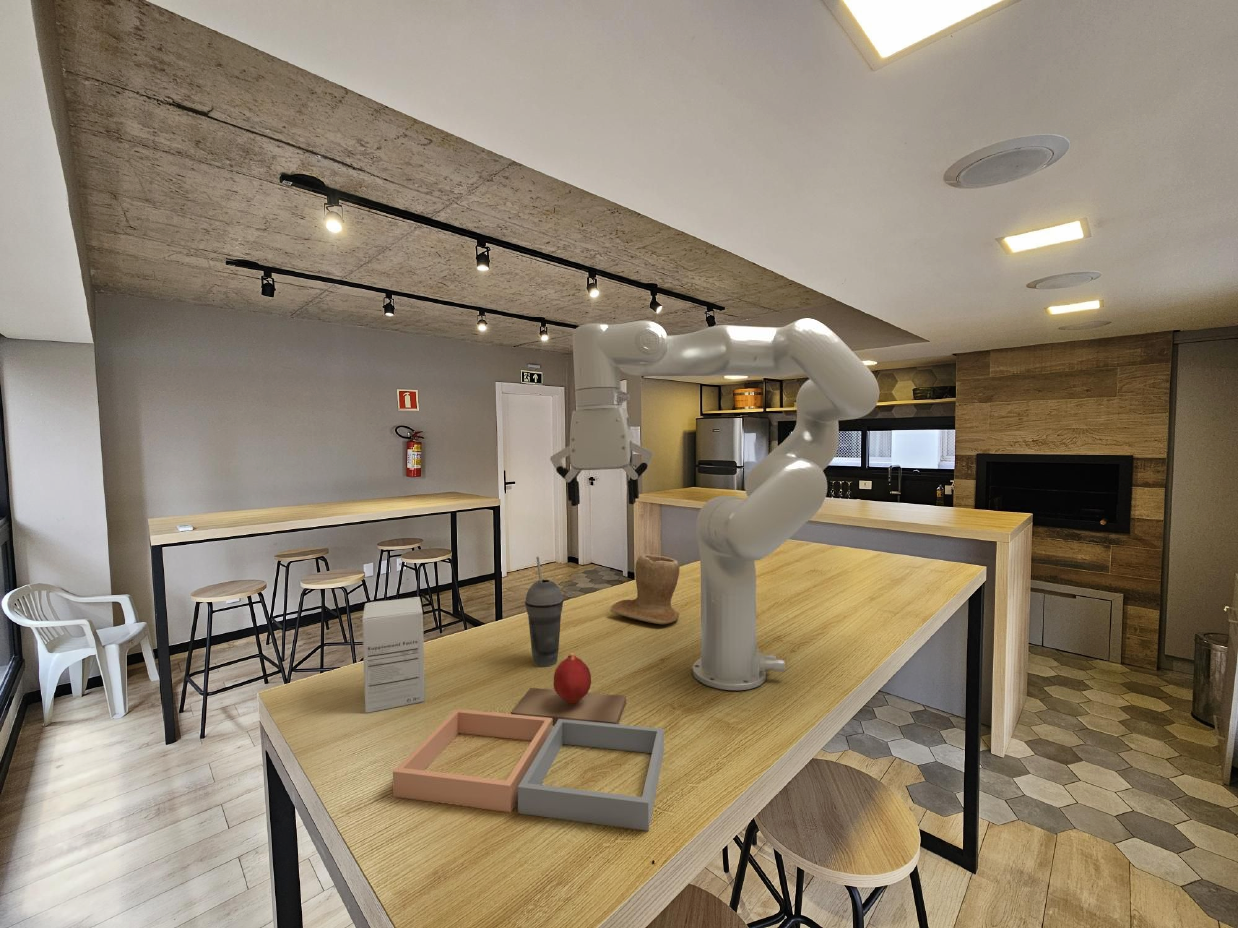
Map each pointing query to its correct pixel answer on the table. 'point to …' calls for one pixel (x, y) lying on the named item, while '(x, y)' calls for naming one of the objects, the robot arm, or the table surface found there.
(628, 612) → the brown boot-shaped piece
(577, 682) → the onion
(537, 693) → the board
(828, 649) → the table surface
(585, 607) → the table surface
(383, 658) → the supplement box
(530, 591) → the beverage cup
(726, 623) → the robot arm
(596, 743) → the frame
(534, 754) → the terracotta crate
